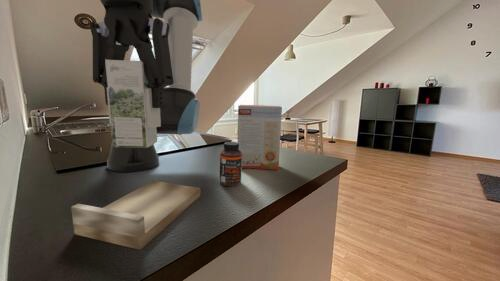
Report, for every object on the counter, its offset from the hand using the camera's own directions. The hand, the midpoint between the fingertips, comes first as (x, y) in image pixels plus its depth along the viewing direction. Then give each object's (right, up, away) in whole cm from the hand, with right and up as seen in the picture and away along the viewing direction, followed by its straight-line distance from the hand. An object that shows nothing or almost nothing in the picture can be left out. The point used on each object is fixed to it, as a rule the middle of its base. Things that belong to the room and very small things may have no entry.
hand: (135, 125), depth 40 cm
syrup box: (0, -4, +1) cm, 4 cm away
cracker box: (+23, -12, +37) cm, 45 cm away
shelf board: (0, -17, +6) cm, 18 cm away
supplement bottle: (+15, -15, +22) cm, 30 cm away
